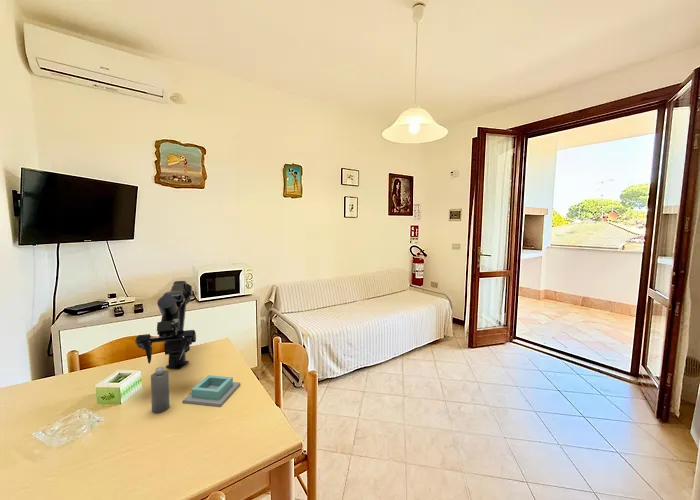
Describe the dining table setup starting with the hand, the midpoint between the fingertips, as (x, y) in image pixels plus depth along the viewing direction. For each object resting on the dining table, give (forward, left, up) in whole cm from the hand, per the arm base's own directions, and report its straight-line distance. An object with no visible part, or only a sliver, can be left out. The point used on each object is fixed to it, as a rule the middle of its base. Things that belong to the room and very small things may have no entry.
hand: (164, 361), depth 104 cm
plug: (+6, +4, -13) cm, 15 cm away
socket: (-5, +16, -13) cm, 21 cm away
